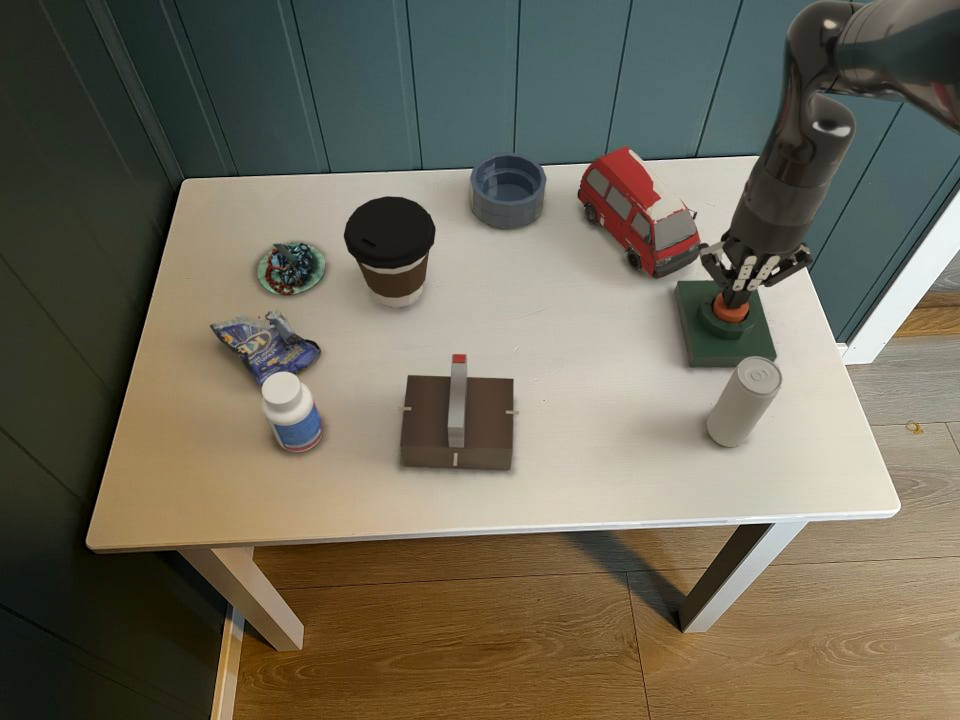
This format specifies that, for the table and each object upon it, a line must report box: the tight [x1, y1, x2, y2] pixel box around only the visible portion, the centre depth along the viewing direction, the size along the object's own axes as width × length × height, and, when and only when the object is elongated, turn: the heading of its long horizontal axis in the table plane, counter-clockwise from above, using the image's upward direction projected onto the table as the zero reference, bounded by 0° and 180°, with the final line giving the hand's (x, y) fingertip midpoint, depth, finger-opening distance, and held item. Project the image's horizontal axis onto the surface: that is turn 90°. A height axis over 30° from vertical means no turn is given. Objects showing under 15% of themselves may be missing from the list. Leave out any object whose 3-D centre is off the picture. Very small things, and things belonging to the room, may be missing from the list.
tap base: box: [397, 374, 520, 471], centre depth 82 cm, size 13×13×5 cm
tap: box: [448, 353, 469, 448], centre depth 78 cm, size 9×2×5 cm, turn 178°
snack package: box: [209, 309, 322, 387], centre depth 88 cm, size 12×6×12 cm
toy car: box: [576, 145, 701, 280], centre depth 97 cm, size 9×18×10 cm, turn 26°
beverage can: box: [706, 356, 784, 448], centre depth 79 cm, size 5×5×12 cm
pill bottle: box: [261, 372, 324, 453], centre depth 80 cm, size 6×5×10 cm
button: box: [712, 293, 749, 323], centre depth 89 cm, size 4×4×2 cm
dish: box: [257, 241, 326, 296], centre depth 97 cm, size 8×7×8 cm
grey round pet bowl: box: [469, 151, 548, 229], centre depth 103 cm, size 10×10×5 cm
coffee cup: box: [343, 195, 437, 309], centre depth 91 cm, size 11×11×12 cm
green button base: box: [674, 279, 778, 368], centre depth 91 cm, size 12×10×4 cm
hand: (731, 303), depth 89 cm, fingers closed
